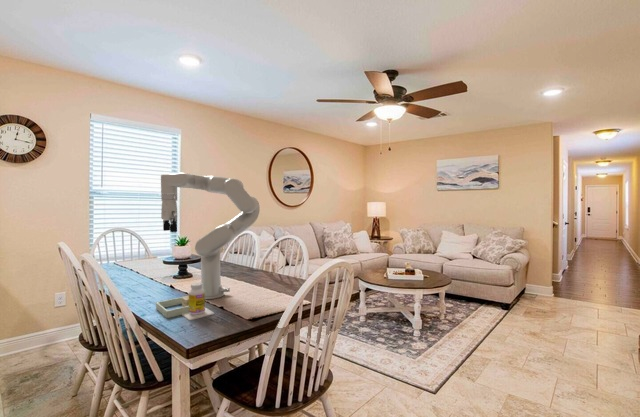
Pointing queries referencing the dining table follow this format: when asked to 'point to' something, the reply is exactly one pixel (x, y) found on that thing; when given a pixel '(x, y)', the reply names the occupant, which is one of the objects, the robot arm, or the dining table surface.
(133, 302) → the dining table surface
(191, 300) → the supplement bottle
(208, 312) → the mat
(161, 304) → the tray
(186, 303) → the birch block
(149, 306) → the dining table surface
